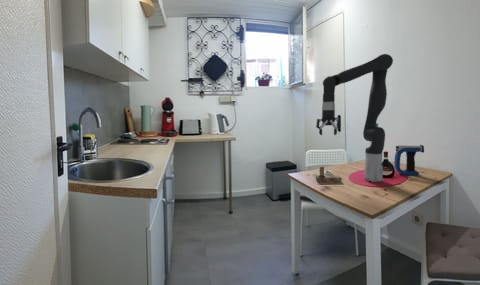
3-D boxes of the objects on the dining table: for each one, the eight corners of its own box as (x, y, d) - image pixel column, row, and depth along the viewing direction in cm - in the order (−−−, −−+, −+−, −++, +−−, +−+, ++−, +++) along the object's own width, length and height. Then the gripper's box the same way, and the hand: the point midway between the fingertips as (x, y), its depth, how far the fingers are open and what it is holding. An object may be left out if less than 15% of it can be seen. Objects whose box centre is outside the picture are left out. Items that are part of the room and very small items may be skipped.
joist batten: (339, 180, 163) (339, 175, 163) (341, 182, 158) (341, 177, 158) (315, 180, 165) (315, 175, 164) (317, 182, 160) (317, 177, 159)
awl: (323, 180, 163) (323, 166, 162) (324, 181, 160) (324, 167, 159) (319, 180, 163) (319, 166, 162) (319, 181, 161) (320, 167, 159)
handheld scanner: (423, 175, 172) (425, 145, 170) (395, 175, 175) (397, 145, 173) (419, 174, 176) (421, 144, 174) (393, 173, 180) (394, 144, 177)
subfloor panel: (332, 175, 179) (332, 173, 179) (341, 184, 159) (341, 182, 158) (311, 175, 181) (311, 173, 180) (317, 184, 160) (317, 182, 160)
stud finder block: (330, 176, 172) (330, 170, 171) (333, 179, 165) (333, 172, 164) (322, 176, 173) (322, 170, 172) (324, 179, 166) (324, 172, 165)
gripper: (318, 109, 164) (317, 135, 166) (341, 109, 162) (341, 135, 165) (315, 109, 171) (315, 134, 173) (338, 108, 170) (337, 134, 172)
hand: (328, 134), depth 169 cm, fingers open, 8 cm apart
